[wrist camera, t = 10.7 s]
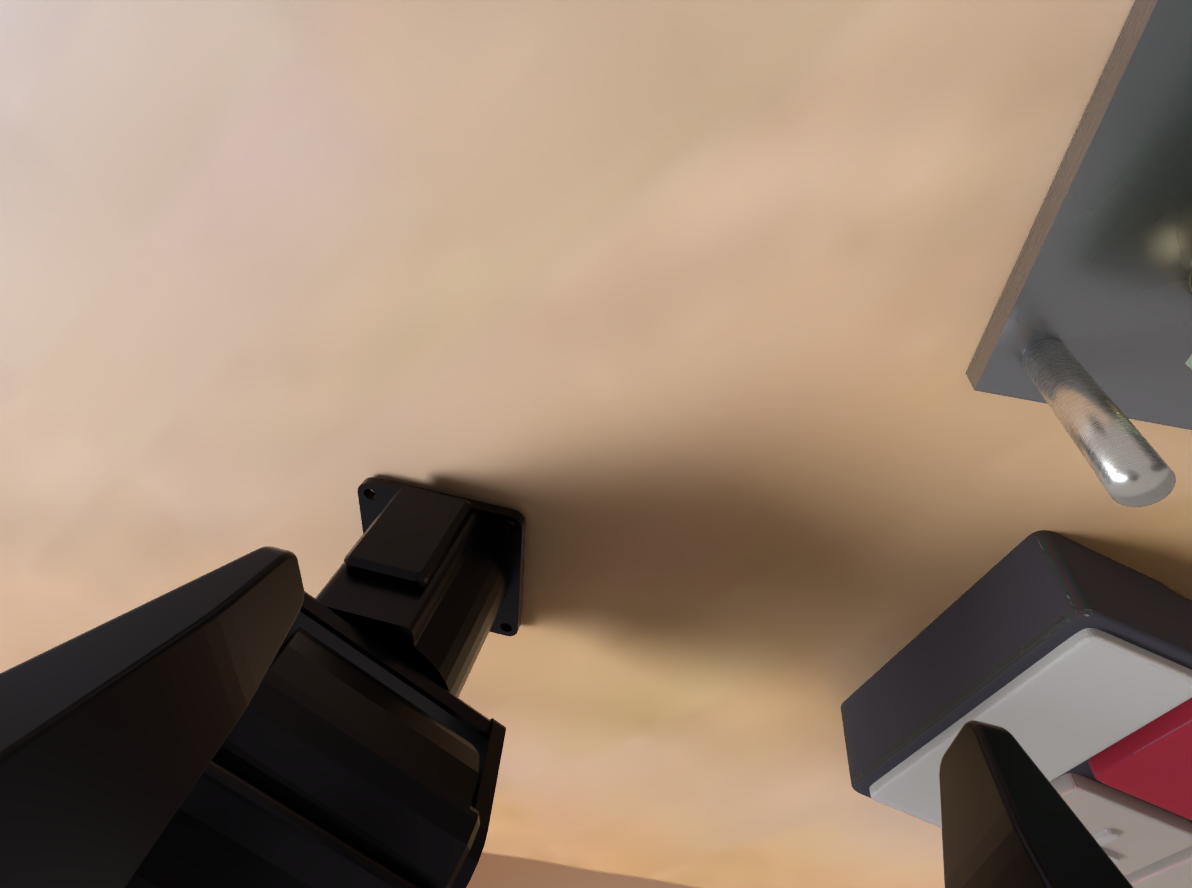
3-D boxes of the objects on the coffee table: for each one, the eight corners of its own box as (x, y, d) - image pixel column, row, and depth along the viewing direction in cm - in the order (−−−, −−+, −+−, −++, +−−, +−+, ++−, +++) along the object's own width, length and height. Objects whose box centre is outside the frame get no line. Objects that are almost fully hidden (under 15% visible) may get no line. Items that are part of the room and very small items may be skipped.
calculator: (1216, 959, 24) (848, 811, 23) (1156, 837, 28) (835, 703, 27) (1581, 840, 18) (1098, 630, 17) (1444, 701, 22) (1037, 520, 21)
